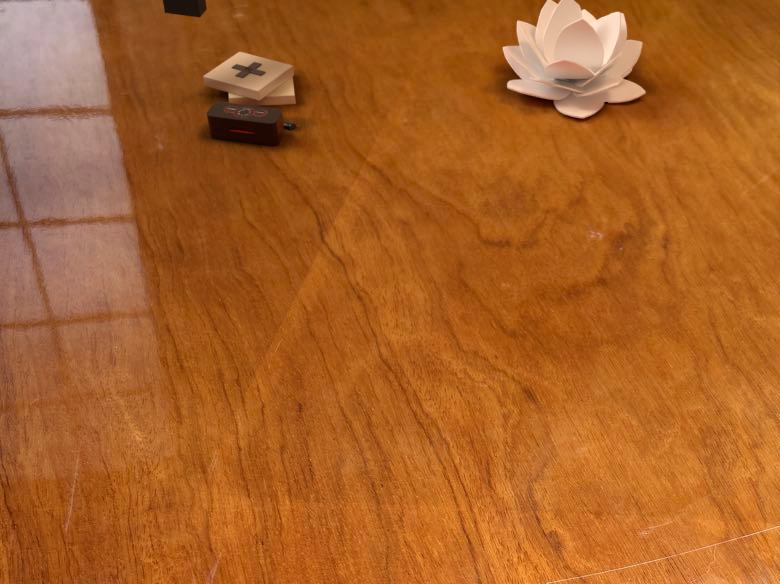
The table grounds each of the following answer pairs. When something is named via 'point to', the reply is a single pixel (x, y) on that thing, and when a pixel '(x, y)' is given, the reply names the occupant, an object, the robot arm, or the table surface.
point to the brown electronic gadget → (247, 124)
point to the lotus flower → (574, 59)
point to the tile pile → (253, 80)
